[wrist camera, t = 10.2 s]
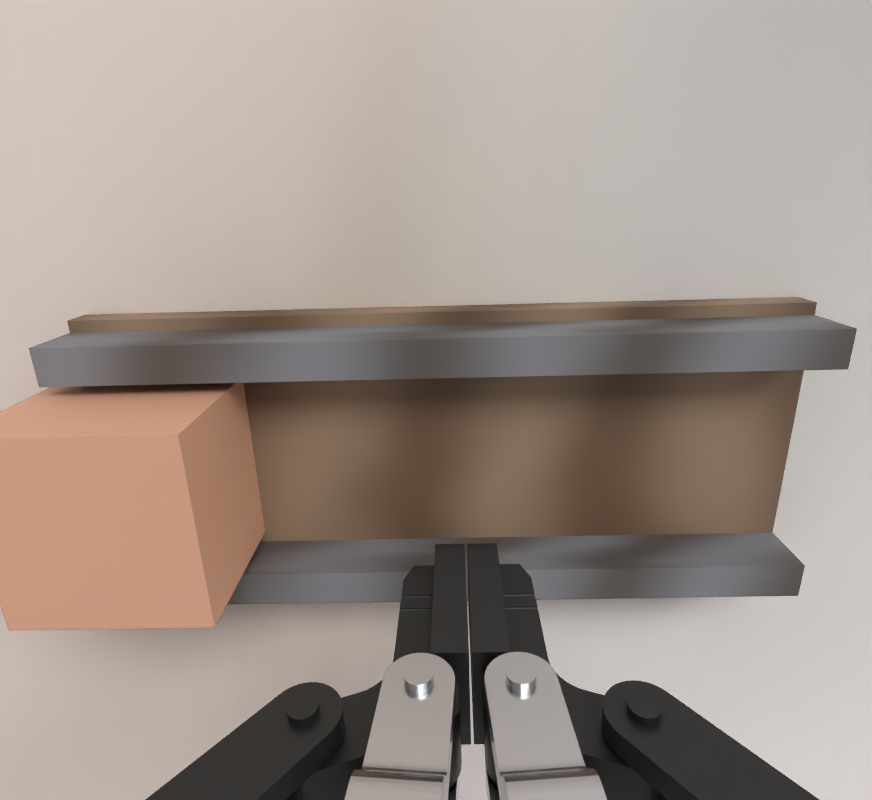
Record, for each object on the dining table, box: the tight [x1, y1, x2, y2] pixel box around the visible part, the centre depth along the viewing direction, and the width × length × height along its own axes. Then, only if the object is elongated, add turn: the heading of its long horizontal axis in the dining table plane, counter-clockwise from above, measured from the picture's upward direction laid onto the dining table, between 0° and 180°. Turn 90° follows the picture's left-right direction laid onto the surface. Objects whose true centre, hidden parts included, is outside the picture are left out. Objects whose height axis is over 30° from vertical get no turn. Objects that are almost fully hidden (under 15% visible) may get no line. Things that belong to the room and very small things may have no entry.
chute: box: [29, 297, 857, 604], centre depth 20 cm, size 24×10×3 cm, turn 92°
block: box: [0, 383, 265, 631], centre depth 18 cm, size 6×6×5 cm
